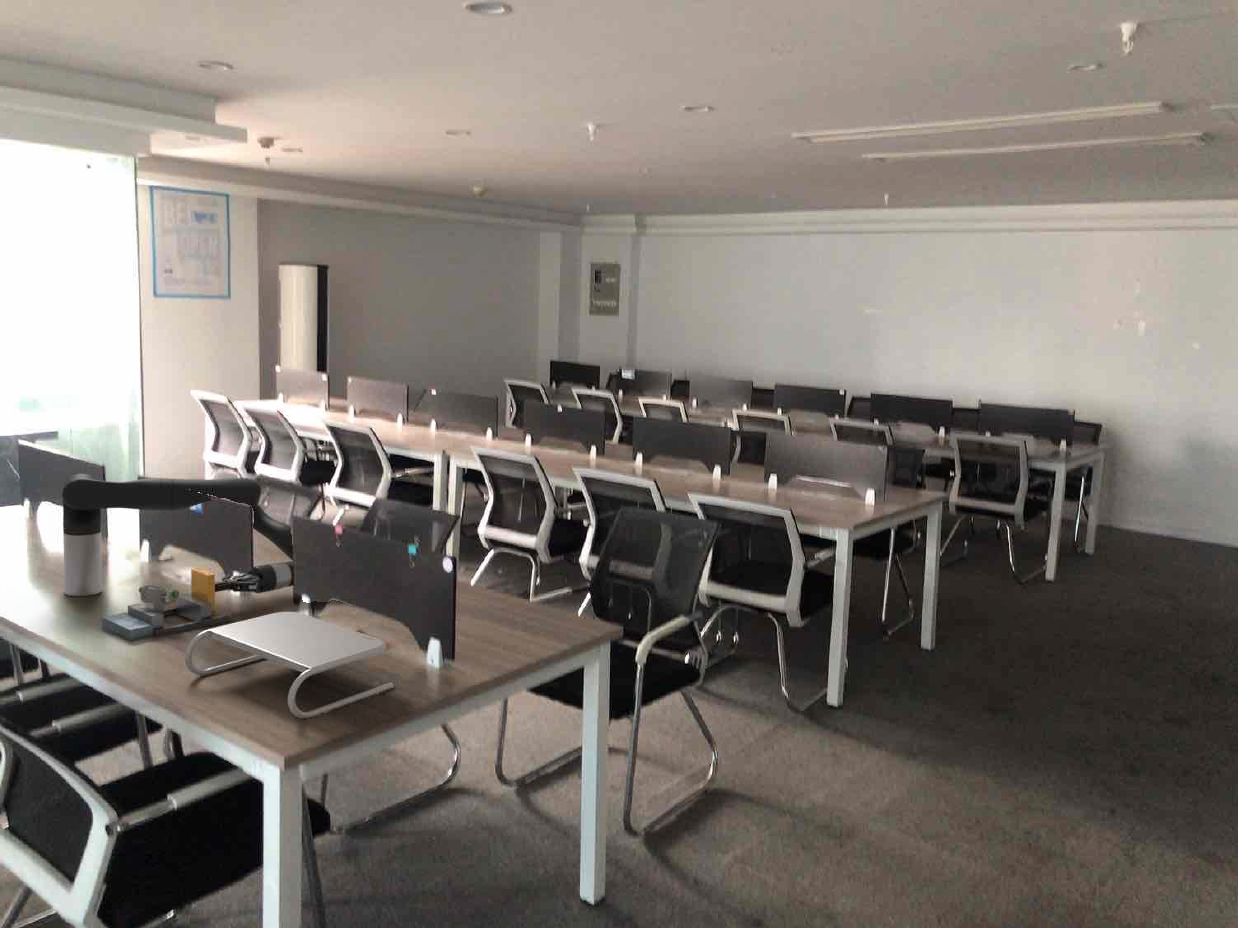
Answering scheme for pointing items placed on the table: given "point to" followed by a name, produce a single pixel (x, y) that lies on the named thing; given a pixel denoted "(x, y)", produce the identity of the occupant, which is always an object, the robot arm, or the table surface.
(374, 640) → the monitor stand
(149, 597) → the mechanical component
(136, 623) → the vise body
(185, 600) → the free jaw
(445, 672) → the table surface
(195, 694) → the table surface
